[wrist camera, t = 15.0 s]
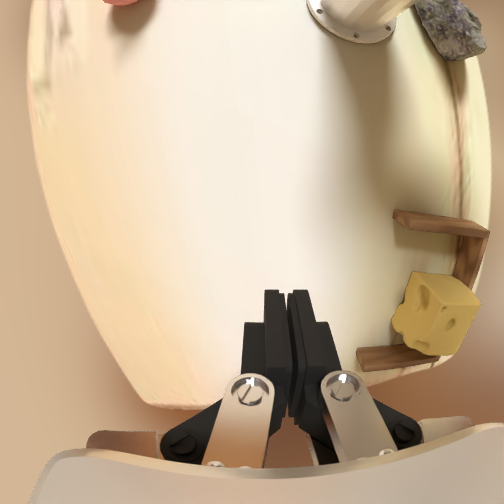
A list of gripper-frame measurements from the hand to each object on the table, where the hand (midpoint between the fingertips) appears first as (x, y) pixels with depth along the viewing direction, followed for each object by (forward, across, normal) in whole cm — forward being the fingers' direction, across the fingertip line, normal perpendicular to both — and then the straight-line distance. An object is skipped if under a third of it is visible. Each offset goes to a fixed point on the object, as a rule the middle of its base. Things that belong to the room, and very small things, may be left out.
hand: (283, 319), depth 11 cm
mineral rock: (+27, -26, -29) cm, 47 cm away
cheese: (+26, -28, +17) cm, 42 cm away
